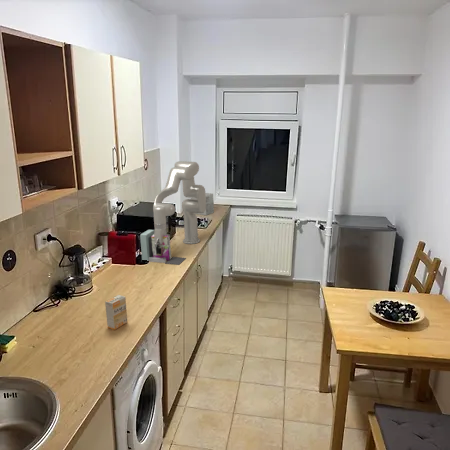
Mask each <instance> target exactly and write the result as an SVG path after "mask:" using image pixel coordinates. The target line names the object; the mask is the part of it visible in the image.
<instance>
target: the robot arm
mask: <svg viewBox="0 0 450 450" xmlns="http://www.w3.org/2000/svg"><path fill="white" fill-rule="evenodd" d="M199 171H200V165H199V163H198V162H196V161H187V160H186V161H185V160H184V161H183V160H180V161H176V162H175V163H174V167H171V168H170V170H169V173H168V176H167V181H166V182H165V187H163V189H162V190H160V191H159V193H157V195H156V197H155V198H154V203H153V206H152V211H153V222H154V223H153V225H154V243H155V247H156V254H161V248H160V247H161V244H163V236H165V235H166V234H168V233H167V231H168V230H167V217H169V216H170V217H171V216H173V215H175V212H176V206H175V205H174V204H171V203H163V201H164V200H165V199H166V198H167V197H169V196H171V195H174V194H176V193H177V192H179V187H180V185H181V181H182V195H183V196H184V197H185V198H187V199H184V200H183V201H182V203H181V210H182V213H183V227H184V230H183V231H184V238H183V239H182V243H184V244H187V245H193V244H194V245H195V244H198V243H200V242H201V239H200V238H199V232H198V231H199V230H198V217H197V214H195V213H204V212H205V210H206V193H207V192H206V188H205V186H203V185H201V184H196V182H195V176H196V175H197V174H198V173H199ZM191 198H197V200H195V199H191Z"/></svg>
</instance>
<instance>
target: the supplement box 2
mask: <svg viewBox="0 0 450 450" xmlns="http://www.w3.org/2000/svg"><path fill="white" fill-rule="evenodd" d="M205 193H206V210H205V212H204V213H195V214H196V215H201V216H208V215H211V214H213V213H214V212H215V210H214V208H215V207H214V193H209V192H205ZM190 199H195V200H197V198H190Z"/></svg>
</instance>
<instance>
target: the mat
mask: <svg viewBox="0 0 450 450" xmlns="http://www.w3.org/2000/svg"><path fill="white" fill-rule="evenodd" d="M186 259H187V258H186V257H182V256H181V257H180V256H179V257H178V256H171V259H170V260H166V263H164V264H166V265H174V266H175V265H176V266H180V265H181V264H182V263H183V262H184V261H186Z"/></svg>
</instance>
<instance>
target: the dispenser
mask: <svg viewBox="0 0 450 450" xmlns="http://www.w3.org/2000/svg"><path fill="white" fill-rule="evenodd" d="M154 231H155V229H147V230H146V231H144V232H142V233H140V236H139V238H140V247H141V248H140V249H141V250H140V251H141V261H142V260H147V261H150V262H151V263H152V262H153V263H163V264H165V263H166V262H167V260H166V258H165V257H164V258H153V252H152V242H151V236H152V235H154Z"/></svg>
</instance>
